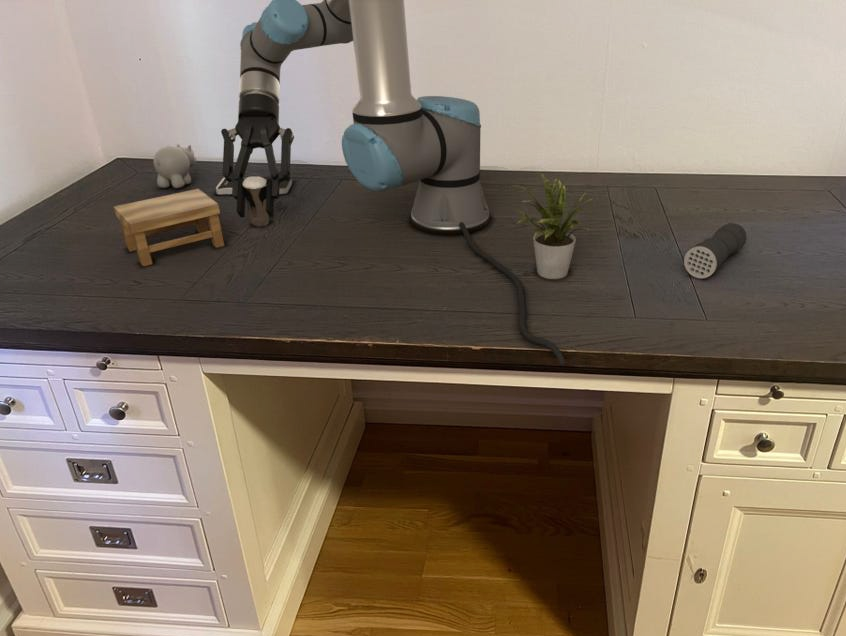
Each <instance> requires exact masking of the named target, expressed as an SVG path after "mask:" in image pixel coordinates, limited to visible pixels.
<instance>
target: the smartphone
mask: <svg viewBox="0 0 846 636" xmlns="http://www.w3.org/2000/svg"><path fill="white" fill-rule="evenodd" d="M248 177H249V176H244V178H243V181H244V180H245V179H246V178H248ZM261 177H262V178H264V179H265V180H266V181H267V178H268V176H261ZM268 179H271V180H272V178H271V176H269V178H268ZM232 184H233V182H228V181H227V180H226V178H225V177H223V178H222V179H221V180H220V181H219V183H218V184H217V185H216V186H215V191H216V195H232ZM292 185H293V178H292V176H290V180H289V181H282V182H281V183H280V190H279V195H285V194H288V193H289V191H290V188H291V187H292Z"/></svg>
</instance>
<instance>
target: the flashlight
mask: <svg viewBox="0 0 846 636" xmlns="http://www.w3.org/2000/svg"><path fill="white" fill-rule="evenodd" d="M746 243H747V232H746V230H745V228H744V227H743V226H742V225H741V224H739V223H735V222H727V223H726V224H723V225H722V226H721V227H719V228H718V229H717V230H716V231H715V233H714V234H713V235H712V236H711V237H709V238H706V239H704V240H703V241H701V242H699V243H697V244H695V245H694V246H693V247H692V248H690V249H689V250H688V251H686V254H685V255H684V259H683V263H684V267H685V270H686V271H687V273H688V274H689V275H690V276H692V277H694V278H697V279H706V278H708V277H710V276H712V275H713V274H714V273H715V272H716V271H718V270H719V269H720V267H721V266H722V264H724V263H725V262H726V260H727V258H728V257H729V256H731V255H732V254H736V253H738V252H739V251H740V250H741V249H743V247H744V246H745V244H746Z"/></svg>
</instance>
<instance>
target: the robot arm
mask: <svg viewBox="0 0 846 636" xmlns="http://www.w3.org/2000/svg"><path fill="white" fill-rule="evenodd" d="M405 9H406V8H405V0H322V1H321V2H318V3H307V4H301V3H300V2H299V1H298V0H271V1H270V2H269V4H268V5H267V6H266V7H265V9H263V11H262V13H261V15H260V17H259V19H258V21H254V22H251V24H247V25H245V26H244V28H243V30H242V34H241V40H240V43H239V47H240V64H239V65H240V66H239V67H240V68H239V89H238V90H239V91H238V99H239V100H238V109H237V110H238V111H237V112H238V113H237V116H238V117H237V123H236V124H235V127H234V128H231V129H227V128H222V129H221V131H220V132H221V133H220V134H221V136H222V139H223V151H222V153H223V154H222V176H223V178H226V180H227V181H228V182H233V184H232V194H231V195H232V197H233V199H234V200H236V213H237V214H238V216H239V217H240V218H246V215H245V214H246V196H245V192H244V188H243V178H244V177H245V174H246V171H247V167H248V165H249V161H250V158H251V155H252V154H253V152H254V150H255V149H258V148H259V149H264V152H265V156H266V157H265V158H266V161H267V166H268V170H269V177H271V178H272V180H271V179H268V181H267V189H266V212H267V214H268V215H269V218H274V214H275V213H274V212H275V211H274V209H275V200H279V198H280V194H279V190H280V183H281V182H282V181H289V180H290V177H291V158H292V157H291V155H292V153H291V152H292V151H291V150H292V144H293V142H294V140H295V135H294V132H293V131H292V129H291V128H290V127H286V128H283V127H280V124H279V123H280V90H281V86H280V85H281V67H282V65H283V64H284V62H285V61H286V59H287V58H288V57H289V56H290V54H291V53H292V52H293V51H298V50H304V49H312V48H319V47H325V46H332V45H338V44H340V45H341V44H350V43H352V42H353V47H354V48H353V51H354V59H355V67H356V76H357V84H358V94H359V98H358V100H357V101H356V102H355V104H354V105H353V106H352V108H351V111H352V112H351V113H352V121H353V122H352V124H350V125H349V126H348V127H346V128H345V129H344V131H343V134H342V137H341V150H342V154H343V158H344V161H345V163H346V165H347V167H348V169H349V171H350V173H351V175H353V176H354V178H355V180H356V181H357V182H359V183H360V185H362V186H363V187H364V188H366V189H368V190H370V191H372V192H385V191H388V190H396V189H400V187H403V186H407V185H410V184H412V183H415V182H419V183H418V186H417V190H416V193H415V196H414V202H413V206H412V208H411V213H410V214H411V215H410V216H411V223H412V225H413V226H414V227H415V228H417V229H418V230H420V231H422V232H426V233H429V234H434V235H441V236H442V235H443V236H454V235H456V236H457V235H463V236H464V238H465V240H466V242H467V245H468V246H469V247H470V248H471V249H472V251H473V252H474V253H475V254H477V255H478V256H479V257H480V258H481V259H483V260H485V261H486V262H488V263H489V264H490V265H492V266H493V267H494V268H495V269H496V270H498V271H499V272H501V273H502V274H504V275H505V276H506V277H508V279H510V280H511V281H512V283H513V284H514V286H515V289H516V291H517V292H516V293H517V300H518V308H519V309H518V311H519V312H518V328H519V331H520V334H521V335H522V336H523V338H525V339H526V340H527V341H528V342H529V343H532V344H535V345H539V346H541V347H544V348H545V349H546V348H547V349H548V350H550V351H551V352H552V353H553V354H554V356H555V358H556V360H557V362H558V364H560V365H565V364H566V359H565V357H564V355H563V353H562V351H561V350H560V348H559V347H558V346H557V345H556V344H555V343H553V342H552V341H550V340H547V339H545V338H542V337H538V336H535V335H533V334H531V333H530V332H529V330H528V329H527V326H526V313H527V310H526V302H525V292H524V287H523V285H522V282H521V281H520V280H519V278H518V277H517V276H516V275H515V274H514V273H513V272H512V271H511V270H509V269H508V268H507V267H505V266H504V265H502V264H501V263H500V262H499V261H497V260H496V259H495V258H493V257H492V256H491V255H489V254H488V253H486V252H484V251H483V250H482V249H480V248H479V247H478V246H477V245H476V244H475V242H474V240H473V239H472V236H471V234H470V233H473V232H476V231H479V230H481V229H484V228H485V227H486V226H487V225H488V224H489V222H490V209H489V205H488V203H487V200H486V197H485V193H484V190H483V187H482V183H481V128H482V124H481V115H480V114H481V113H480V108H479V106H478V105H477V104H476V102H473V101H472V100H467V99H465V98H459V97H452V96H441V95H425V96H424V95H423V96H419V97H417V98H415V97H414V96H413V94H412V86H411V85H412V84H411V72H410V60H409V46H408V33H407V22H406V10H405ZM237 136H239V138H240V139H241V142H240V149H239V152H238V156H237V159H236V162H235V165H234V161H235V160H234V157H235V144H234V143H235V142H236V139H237ZM278 137H280V139H281V147H280V148H281V149H280V151H281V152H280V171H279V169H278V166H277V165H278V164H277V161H276V156H275V152H274V146H273V143H274V142H275V141H276V140H277V139H278Z"/></svg>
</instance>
